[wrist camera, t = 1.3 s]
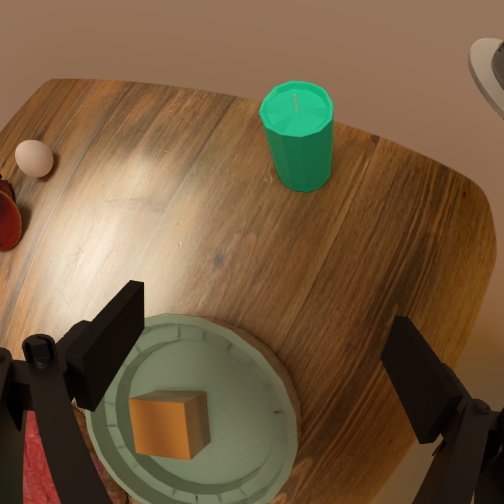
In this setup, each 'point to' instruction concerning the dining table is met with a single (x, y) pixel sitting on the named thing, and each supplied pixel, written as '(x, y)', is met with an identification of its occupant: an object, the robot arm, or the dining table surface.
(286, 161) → the candle
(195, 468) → the bowl
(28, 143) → the egg
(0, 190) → the mushroom
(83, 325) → the robot arm
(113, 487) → the cake
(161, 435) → the block
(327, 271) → the dining table surface
